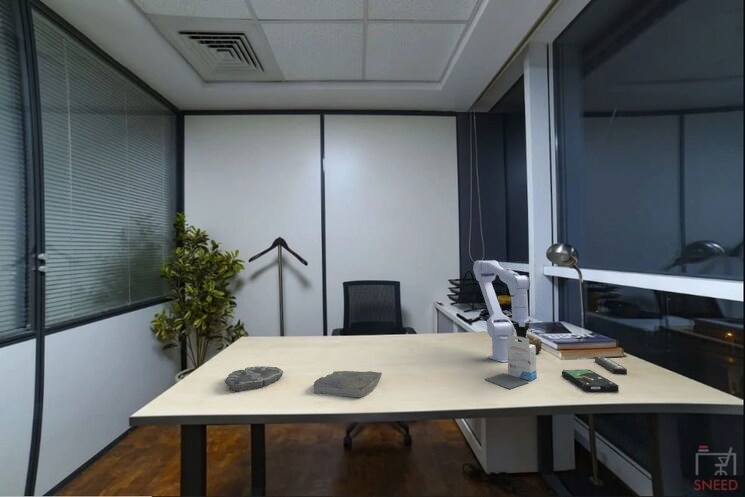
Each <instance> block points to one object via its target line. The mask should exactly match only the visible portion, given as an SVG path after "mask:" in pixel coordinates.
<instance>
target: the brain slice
mask: <svg viewBox="0 0 745 497" xmlns="http://www.w3.org/2000/svg"><path fill="white" fill-rule="evenodd" d="M283 374H284V371H283V369H281V368H279V367H276V366H263V365H262V366H258V365H257V366H250V367H245V369H238V370H234V371H232V372H231V373H229V374H228V375H227V377H226V378H225V380H224V382H225V385H226V386H227V387H229V388H230V389H231V390H232V391H233V392H245V391H251V390H257V389H260V388H265V387H268V386H270V385H272V384H274V383H276V382H278V381H279V380H280V379H281V378H282V376H283Z"/></svg>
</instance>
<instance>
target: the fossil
mask: <svg viewBox="0 0 745 497" xmlns="http://www.w3.org/2000/svg"><path fill="white" fill-rule="evenodd" d="M382 375H383V374H382V372H378V371H371V370H370V371H353V370H337V371H336V370H335V371H333V372H332V373H331V374H330V373H329V374H327V375H326V376H321V377H319V378H318V379H316V380H315V381H313V382H314V383H313V393H315V394H317V395H322V396H324V395H325V396H333V397H351V398H363V397H365V396H367V395H370V394H371V393H373V391H374V390H375V389H376V387H377V386H378V384H379V382H380V381H381V378H382Z"/></svg>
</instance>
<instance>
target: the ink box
mask: <svg viewBox="0 0 745 497" xmlns="http://www.w3.org/2000/svg"><path fill="white" fill-rule="evenodd" d="M507 337H508V343H507V348H508V362H507V373H508V374H507V375H509V376H512V377H515V378H518V379H521V380H524V381H528V382H531V381H533V380H535V379H537V373H538V372H537V353H536V345H531V344H529V338H523V337H517V335H513V336H511V335H508V336H507ZM518 339H519V340H521V341H522V342H518Z"/></svg>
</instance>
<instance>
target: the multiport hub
mask: <svg viewBox="0 0 745 497" xmlns="http://www.w3.org/2000/svg"><path fill="white" fill-rule="evenodd" d="M594 362H595V363H597V364H598V365H599V366H601V367H602V368H604V369H605V370H608V371H609V372H610V373H612V374H614V375H628V370H627V368H626V367H624V366H623V365H620V364H619V363H618V362H615V361H613V360H612V359H611V358H609V357H606V356H594Z"/></svg>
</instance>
